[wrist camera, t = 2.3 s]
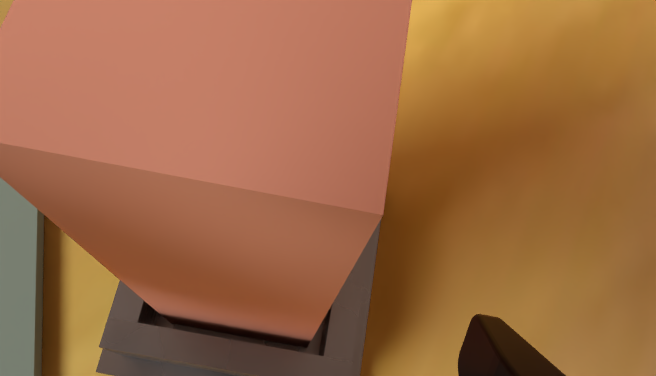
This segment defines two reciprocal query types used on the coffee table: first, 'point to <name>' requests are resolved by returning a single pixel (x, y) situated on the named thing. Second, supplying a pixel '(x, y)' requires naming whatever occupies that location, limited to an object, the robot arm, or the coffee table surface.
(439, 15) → the coffee table surface
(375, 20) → the terracotta peg
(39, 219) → the green pad
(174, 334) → the metal socket
